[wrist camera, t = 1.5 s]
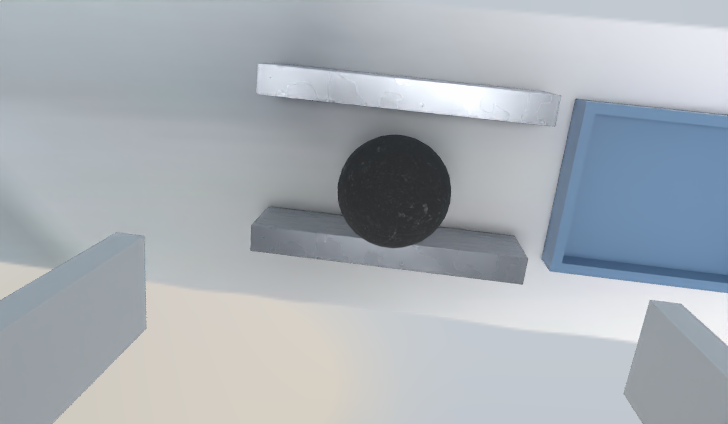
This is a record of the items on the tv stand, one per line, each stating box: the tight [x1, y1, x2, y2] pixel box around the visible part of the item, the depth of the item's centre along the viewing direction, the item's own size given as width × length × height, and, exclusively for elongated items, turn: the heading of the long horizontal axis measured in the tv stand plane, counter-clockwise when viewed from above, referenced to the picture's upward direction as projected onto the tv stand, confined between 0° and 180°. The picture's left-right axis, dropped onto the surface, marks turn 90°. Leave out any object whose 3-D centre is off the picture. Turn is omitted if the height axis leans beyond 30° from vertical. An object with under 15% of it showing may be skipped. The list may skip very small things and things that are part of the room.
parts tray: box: [542, 99, 728, 293], centre depth 31 cm, size 12×10×2 cm
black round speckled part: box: [338, 135, 451, 248], centre depth 28 cm, size 6×6×10 cm
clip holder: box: [250, 63, 561, 284], centre depth 31 cm, size 16×11×4 cm
